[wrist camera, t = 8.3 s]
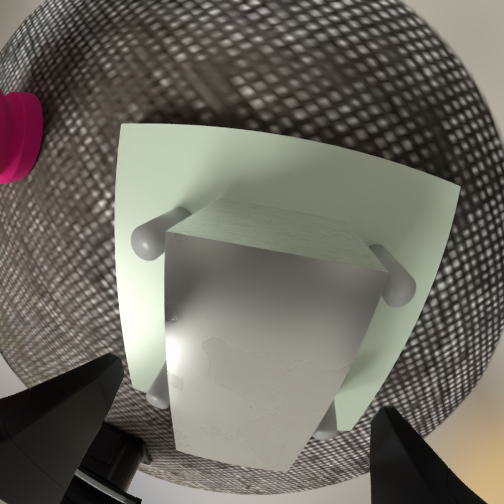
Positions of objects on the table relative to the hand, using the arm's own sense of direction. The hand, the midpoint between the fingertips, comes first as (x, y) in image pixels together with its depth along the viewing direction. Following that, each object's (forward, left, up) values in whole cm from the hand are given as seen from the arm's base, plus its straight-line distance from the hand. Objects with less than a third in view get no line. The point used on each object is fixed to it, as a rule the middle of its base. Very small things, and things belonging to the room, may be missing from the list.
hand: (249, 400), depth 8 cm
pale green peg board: (0, 0, -6) cm, 6 cm away
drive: (0, 0, -5) cm, 5 cm away
